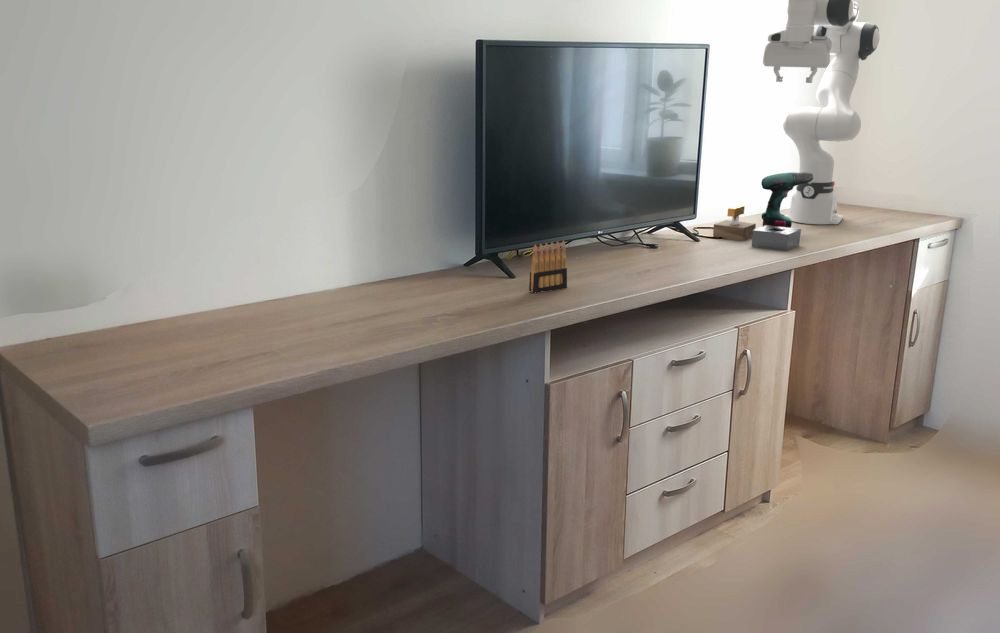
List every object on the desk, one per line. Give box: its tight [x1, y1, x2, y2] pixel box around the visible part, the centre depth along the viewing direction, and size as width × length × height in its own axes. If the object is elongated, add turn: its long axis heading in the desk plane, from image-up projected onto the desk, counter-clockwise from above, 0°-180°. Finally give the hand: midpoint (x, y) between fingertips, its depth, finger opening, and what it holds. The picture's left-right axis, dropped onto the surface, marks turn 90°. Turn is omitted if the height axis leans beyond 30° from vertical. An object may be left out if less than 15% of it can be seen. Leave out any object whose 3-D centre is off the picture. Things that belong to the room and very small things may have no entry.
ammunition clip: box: [528, 240, 568, 294], centre depth 234 cm, size 11×2×12 cm, turn 126°
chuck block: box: [751, 225, 802, 252], centre depth 291 cm, size 11×11×5 cm
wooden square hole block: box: [712, 219, 757, 241], centre depth 305 cm, size 10×10×4 cm
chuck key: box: [727, 204, 745, 225], centre depth 305 cm, size 8×2×10 cm, turn 144°
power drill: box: [761, 171, 814, 228], centre depth 310 cm, size 7×16×20 cm, turn 89°
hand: (793, 82), depth 297 cm, fingers open, 8 cm apart
